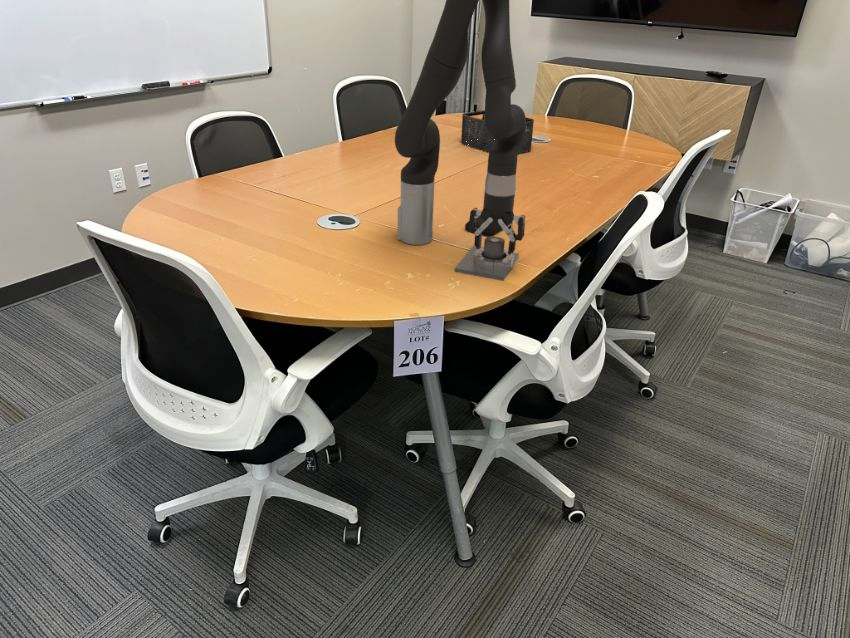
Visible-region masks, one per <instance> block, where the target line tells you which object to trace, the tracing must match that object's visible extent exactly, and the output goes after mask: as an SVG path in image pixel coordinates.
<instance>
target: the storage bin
mask: <svg viewBox="0 0 850 638" xmlns="http://www.w3.org/2000/svg"><path fill="white" fill-rule="evenodd" d="M481 115H482V117H481V118H478V117H475V116H481ZM461 119H462V121H461V142H460V144H461V143H462V144H464V145H463V146H465V145H468V144H469V145H468V146H467V147H469V146H471V147H470V148H472V147H473V148H472V149H475V148H477V149H476V150H478V149H480V150H479V151H481V150H483V151H482V152H485V151H486V152H485V153H488V152H490V150H491V149H492V148H493V146H494V145H495V144H496V140H497V139H495V138H493V137H492V136H491V135H490V134H489V132H488V130H487V127H486V124H485V109H483V110H478V111H472V112H464V113H462V118H461ZM534 122H535V120H534V119H533V118H530V117H526V128H525V133H524V137H523V140H522V144H521V147H520V150H519V154H523V153H522V152H524V153H528V152H527V151H529V152H531V151H532V143H533V134H534ZM477 139H478V140H477ZM494 139H495V140H494ZM471 140H472V141H471ZM466 141H467V142H466ZM462 144H461V145H462ZM530 150H531V151H530Z"/></svg>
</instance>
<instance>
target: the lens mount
mask: <svg viewBox="0 0 850 638" xmlns="http://www.w3.org/2000/svg"><path fill="white" fill-rule="evenodd" d="M483 254H484V246H481V247H480V249H476V246H475V245H473V246H472V247H471V248H470V249H469V250H468V251H467V252H466V253H465V255H464V256H463V257H462V259H461V260H460V261H459V262H458V263H457V265H456V266H455V267H454V272H456V273H459V274H460V273H461V274H466V275H471V276H476V277H482V278H487V279H491V280H498V281H503V282H504V281H505V280H506V278H507V277H508V276H509V274H510V272H511V270H512V269H513V267H514V266H515V264H516V262H517V260H518V259H519V257H520V253H517V252H513V253H512V254H511V255H509V254H508V249H506V248H504V255H503V259H501V260H491V259H487V258H485V257H483Z"/></svg>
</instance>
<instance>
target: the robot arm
mask: <svg viewBox="0 0 850 638" xmlns="http://www.w3.org/2000/svg"><path fill="white" fill-rule="evenodd" d="M479 1H480V0H445V4H444V8H443V11H442V13H441V15H440V19H439V22H438V25H437V27H436V30H435V33H434V37H433V39H432V41H431V44H430V46H429V49H428V51H427V54H426V56H425V60H424V63H423V65H422V69H421V71H420V74H419V77H418V80H417V82H416V85H415V88H414V90H413V92H412V96H411V97H410V99H409V102H408V105H407V107H406V108H405V109H404V110H405V111H404V112H403V115H402V117H401V118H400V121H399V123H398V125H397V127H396V130H395V134H394V145H395V149H396V151H397V153H398V154H399V155H400V156H401V157H404V158H408V159H409V158H410V159H409V161H408V162H407V163H406V165H404V166H403V167H402V168H401V170H400V205H399V206H398V207H397V241H401V242H403V243H405V244H407V245H413V246H415V245H416V246H419V245H420V246H421V245H426V244H428V243H430V242H432V241H433V228H434V227H433V225H434V204H435V203H434V201H435V177H436V173H437V171H438V167H439V158H440V151H441V148H440V147H441V134H440V129H439V127H438V125H437V124H436V122H435V121H434V120H433V119H431V118H432V116H433V115H434V114H435V112H436V110H437V109H438V108H439V107H440V106H441V104H443V102H444V101H445V100H446V99H447V97H449V95H450V94H451V93H452V91H453V90H454V89H455V87H456V85H457V84H458V82H459V80H460V78H461V75H462V73H463V71H464V68H465V66H466V64H467V61H468V56H469V29H470V23H471V20H472V17H473V14H474V13H475V10H476V8H477V5H478V4H479ZM482 4H483V9H484V10H483V11H484V24H485V25H484V33H483V40H482V47H481V57H480V58H481V59H480V60H481V69H482V74H483V80H484V81H483V82H484V86H485V87H484V88H485V96H484V97H485V99H484V110H485V114H484V115H485V124H486V127H487V130H488V132H489V134H490V135H491V136H492V137H493V138H495V139H497V140H496V144H495V145H494V146H493V148H492V149H491V150H490V152H489V153H488V156H487V157H488V158H487V169H486V176H485V181H484V182H485V183H484V192H483V193H484V195H483V208H482V210H481V209H478V208H477V207H473V208H472V209H471V211H470V212H469V219H468V221H469V227H468V230H467V231H468V232H469V233H472V234H473V235H474V243H473V246H476V249H480V247H482V240H483V239H482V238H483V235H482V233H481V232H482V231H483V230H484V229H485V228H486V227H488V228H489V229H496V230H499V231H498V232H502V231H503V232H504V234H505V235H506V236H507V237H508V239H509V241H508V249H507V250H508V254H509V255H511V254H512V253H515V250H516V244H517V241H522V240H523V238H524V237H525V232H526V231H525V230H526V228H525V227H526V216H525V215H524V214H521V215H515V214H514V206H515V205H514V204H515V196H516V191H517V167H518V155H519V154H520V153H519V150H520V147H521V144H522V140H523V137H524V133H525V128H526V118H527V116H526V113H525V111H524V109H523V108H522V107H521V106H519V105H517V104H514V103H511V102H512V101H511V100H512V99H511V97H512V93H513V92H514V91H516V87H517V81H516V74H515V73H516V72H515V65H514V60H513V54H512V53H513V52H512V46H511V45H512V44H511V27H510V22H511V20H510V0H482ZM518 153H519V154H518ZM479 215H481V217H482V219H483V220H484V223H483V224H482V225H481V226H480V227H479V228H477V227H475V226H476V219H477V218H478V217H479ZM512 221H514V222H515V224H516V226H517V233H516V232H515V230H514V227H513V224H512V225H511V222H512Z"/></svg>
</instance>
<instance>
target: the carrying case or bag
mask: <svg viewBox="0 0 850 638" xmlns="http://www.w3.org/2000/svg"><path fill="white" fill-rule="evenodd" d="M513 221H514V220H513ZM513 221H512V222H511V225H512V226H513V223H514V222H513ZM483 223H484V220H483V219H482V217H481V215H479V217H478V218H477V219H476V226H475V227H477V228H479V227H480V226H481V225H482V224H483ZM468 227H469V220H468V221H467V222H466V223H465V224H464V228H465V229H466V231H468ZM498 232H500V231H499V230H496V229H489V228H488V227H486V228H485V229H484V230H483V231H482V232H481V233H482V236H486V237H492V236H493V235H495V234H496V233H498Z"/></svg>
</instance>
